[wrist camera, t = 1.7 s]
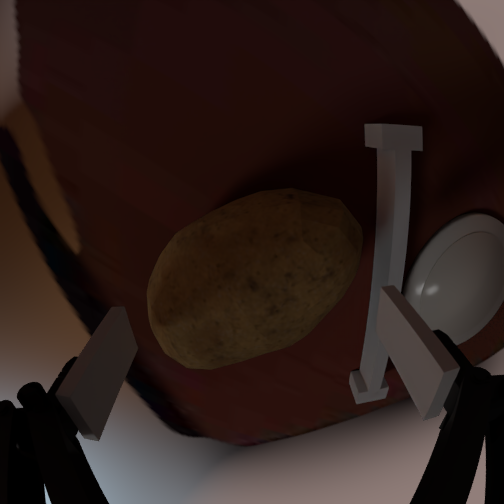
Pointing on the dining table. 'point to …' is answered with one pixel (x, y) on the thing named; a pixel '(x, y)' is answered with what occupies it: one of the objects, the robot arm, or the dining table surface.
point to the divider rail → (386, 243)
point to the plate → (459, 276)
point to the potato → (252, 276)
